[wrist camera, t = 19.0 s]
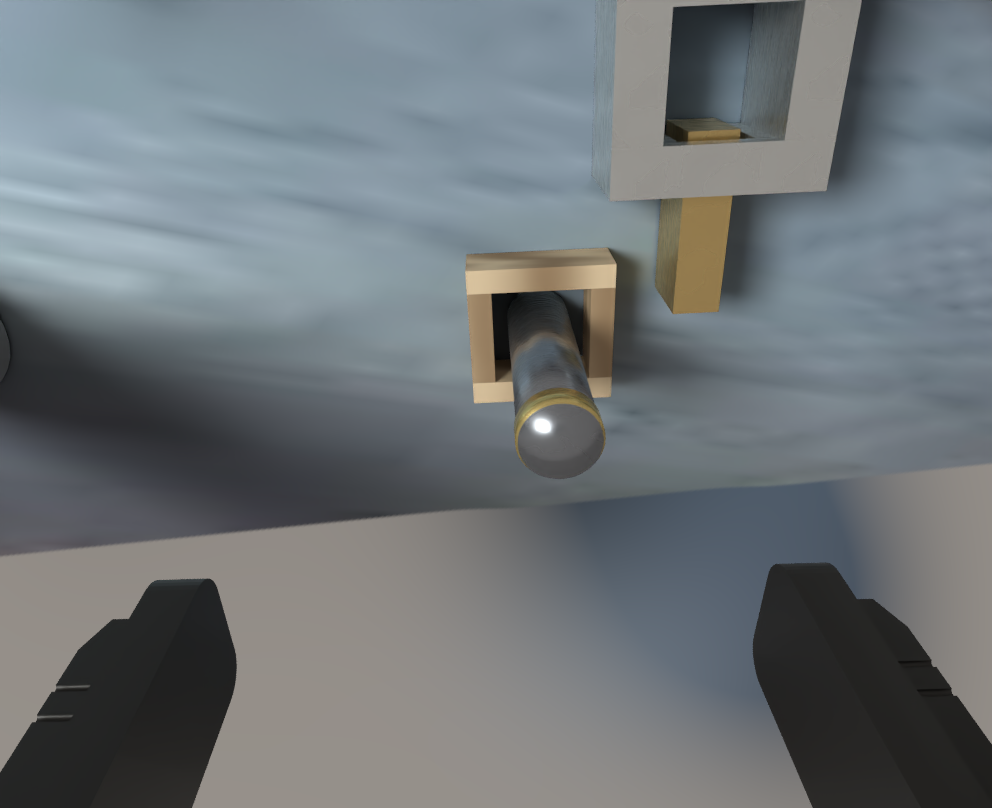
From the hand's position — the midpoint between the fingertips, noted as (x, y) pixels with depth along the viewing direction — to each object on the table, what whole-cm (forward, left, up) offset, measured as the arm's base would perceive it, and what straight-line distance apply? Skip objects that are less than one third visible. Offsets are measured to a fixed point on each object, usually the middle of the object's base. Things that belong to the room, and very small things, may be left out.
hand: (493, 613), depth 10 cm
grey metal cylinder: (+3, -8, -31) cm, 32 cm away
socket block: (+11, +5, -31) cm, 33 cm away
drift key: (+11, -2, -31) cm, 33 cm away
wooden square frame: (+3, -8, -31) cm, 32 cm away
